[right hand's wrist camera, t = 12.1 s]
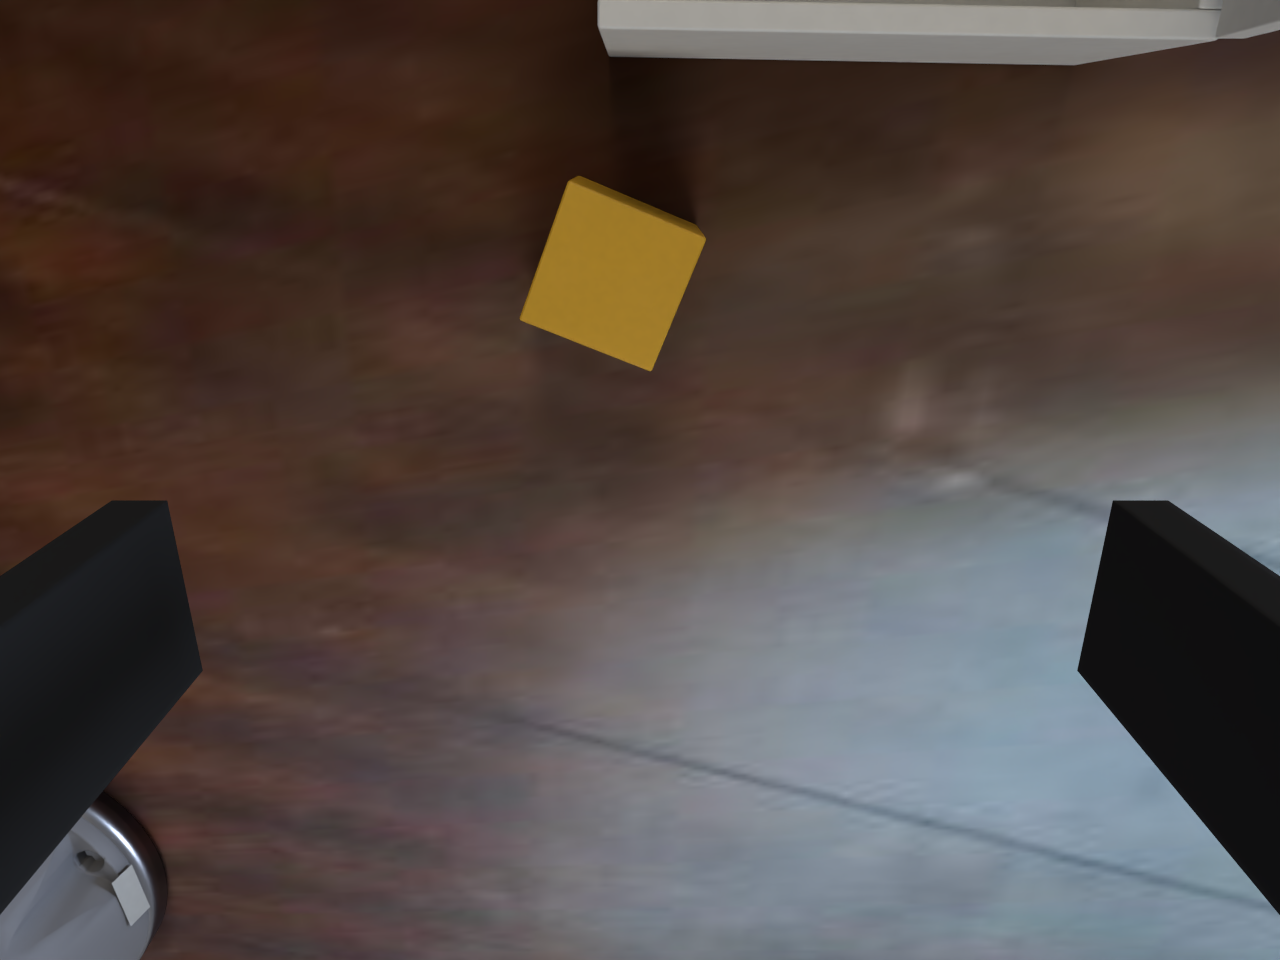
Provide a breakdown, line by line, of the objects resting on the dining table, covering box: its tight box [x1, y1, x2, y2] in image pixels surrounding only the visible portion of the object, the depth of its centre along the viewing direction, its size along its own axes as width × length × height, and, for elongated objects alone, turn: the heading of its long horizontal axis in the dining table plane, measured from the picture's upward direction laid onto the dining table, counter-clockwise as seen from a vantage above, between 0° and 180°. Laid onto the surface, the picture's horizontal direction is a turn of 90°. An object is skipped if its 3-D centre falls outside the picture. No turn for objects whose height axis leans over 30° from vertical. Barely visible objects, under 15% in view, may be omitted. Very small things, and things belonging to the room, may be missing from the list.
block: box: [520, 176, 706, 371], centre depth 33 cm, size 5×5×5 cm
